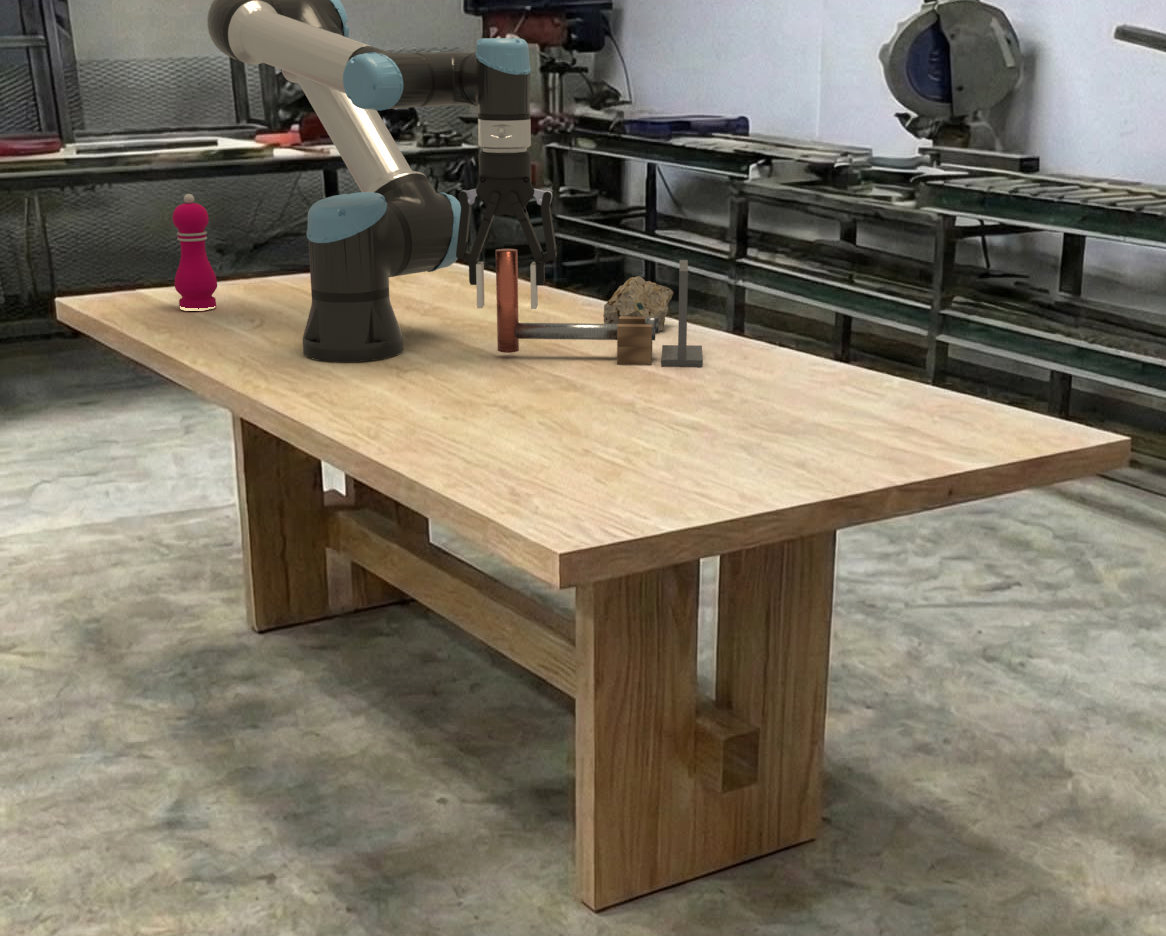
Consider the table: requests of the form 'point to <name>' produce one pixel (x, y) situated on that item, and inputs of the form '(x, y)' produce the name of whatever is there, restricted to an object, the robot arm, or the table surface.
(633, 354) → the cradle
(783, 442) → the table surface
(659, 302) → the rock
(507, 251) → the hook
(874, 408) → the table surface
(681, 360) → the eye bracket
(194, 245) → the pepper mill
